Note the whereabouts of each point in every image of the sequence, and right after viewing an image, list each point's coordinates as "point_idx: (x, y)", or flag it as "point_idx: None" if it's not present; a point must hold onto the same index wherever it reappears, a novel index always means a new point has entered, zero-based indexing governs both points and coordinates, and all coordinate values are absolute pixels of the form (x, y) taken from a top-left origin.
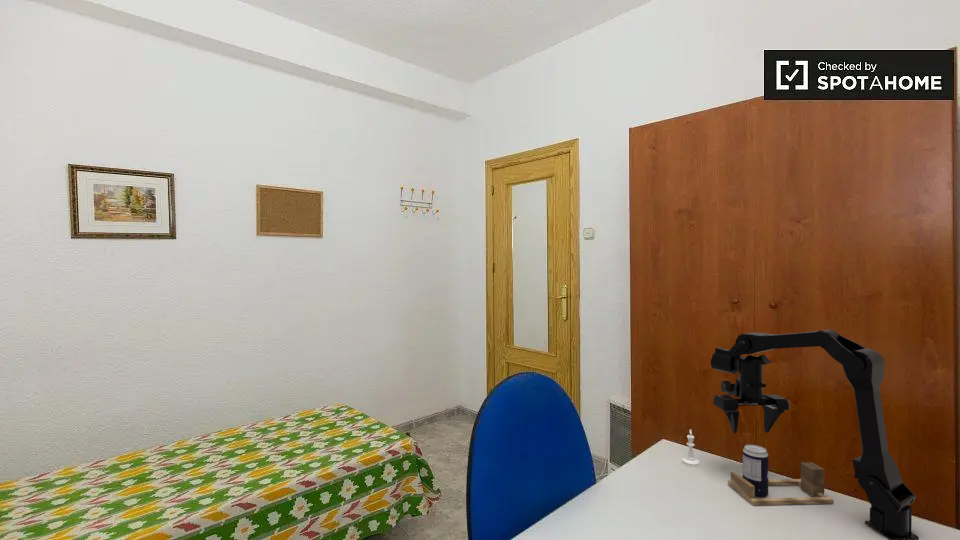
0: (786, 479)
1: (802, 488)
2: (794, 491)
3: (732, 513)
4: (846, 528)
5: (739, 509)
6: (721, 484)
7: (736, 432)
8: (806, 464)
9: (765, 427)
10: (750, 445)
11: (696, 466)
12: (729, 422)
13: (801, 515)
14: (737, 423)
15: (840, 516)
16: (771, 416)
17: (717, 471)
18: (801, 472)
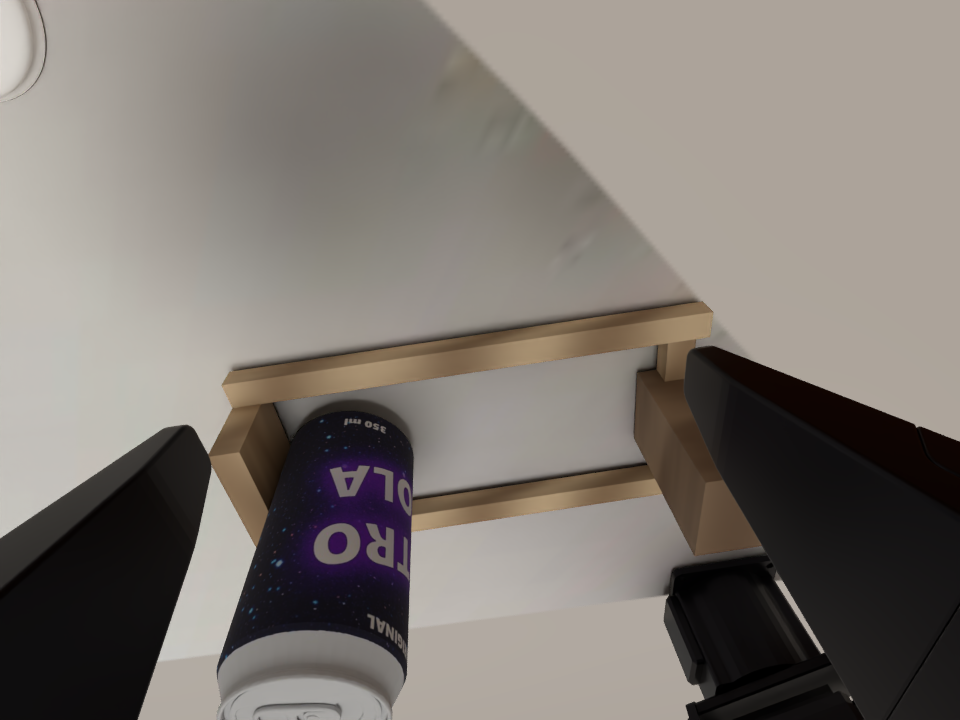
0: (612, 327)
1: (639, 388)
2: (587, 390)
3: (196, 582)
4: (582, 595)
5: (234, 557)
6: (192, 366)
7: (209, 477)
8: (718, 503)
9: (719, 409)
10: (289, 675)
11: (15, 97)
12: (15, 537)
13: (476, 556)
14: (137, 685)
15: (626, 542)
16: (895, 708)
17: (196, 178)
18: (676, 438)
